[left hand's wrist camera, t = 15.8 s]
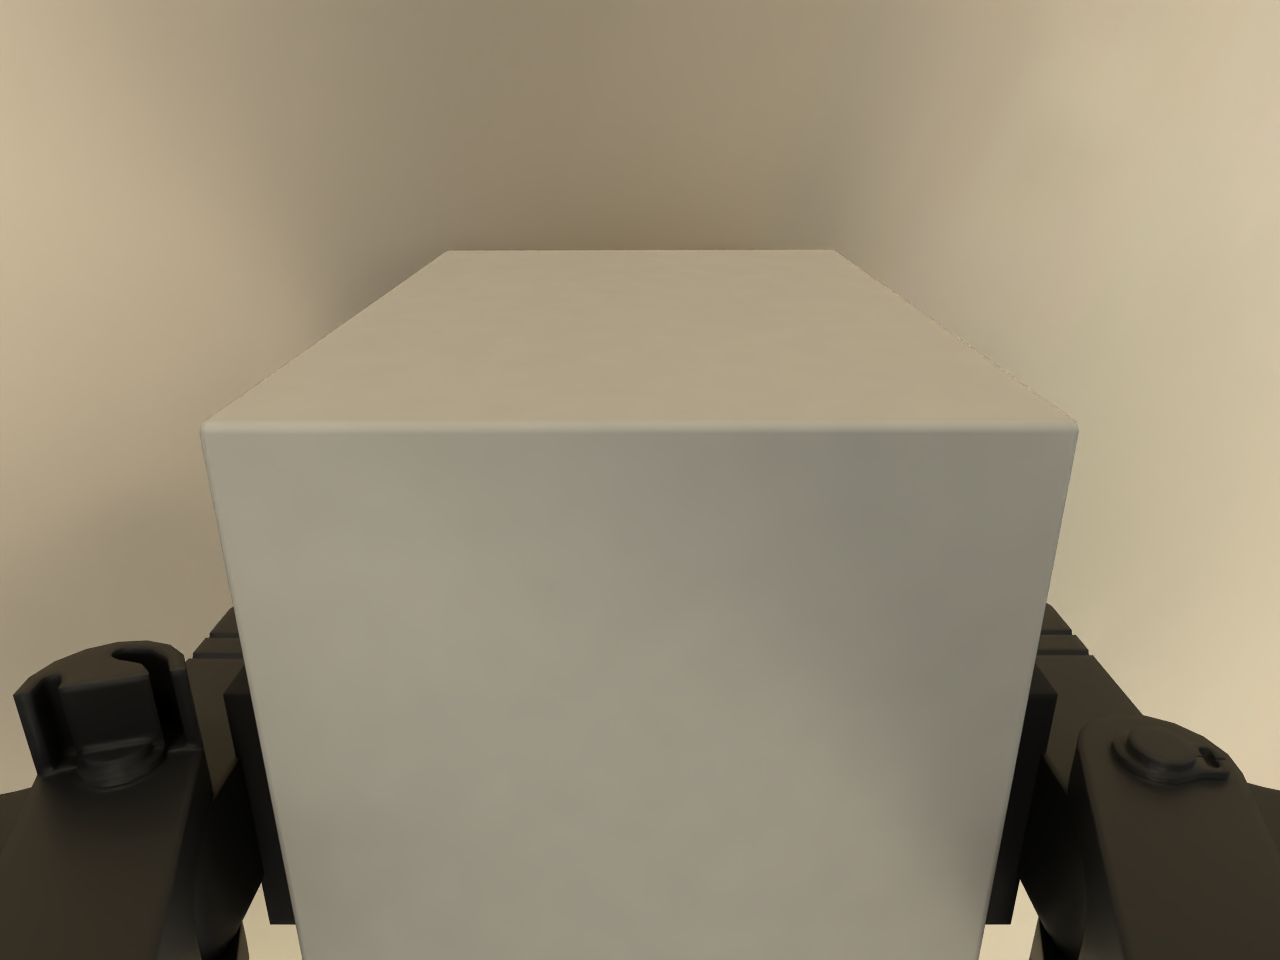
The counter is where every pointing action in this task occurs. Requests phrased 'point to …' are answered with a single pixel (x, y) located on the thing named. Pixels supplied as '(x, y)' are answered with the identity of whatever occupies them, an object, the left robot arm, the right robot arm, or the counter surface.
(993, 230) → the counter surface
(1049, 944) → the left robot arm
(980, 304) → the counter surface
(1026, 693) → the bar
